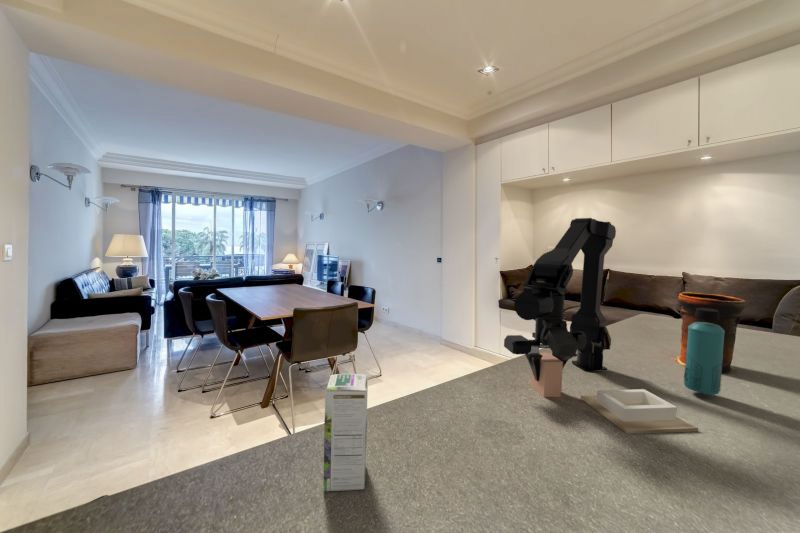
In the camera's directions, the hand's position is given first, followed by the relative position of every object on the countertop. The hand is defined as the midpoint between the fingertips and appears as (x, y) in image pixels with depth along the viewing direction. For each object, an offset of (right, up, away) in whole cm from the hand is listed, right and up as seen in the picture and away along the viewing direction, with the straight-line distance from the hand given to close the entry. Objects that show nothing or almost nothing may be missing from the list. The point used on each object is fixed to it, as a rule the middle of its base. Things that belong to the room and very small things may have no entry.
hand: (546, 380), depth 80 cm
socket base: (+14, -4, -9) cm, 17 cm away
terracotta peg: (0, -3, 0) cm, 3 cm away
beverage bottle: (+35, -3, 0) cm, 35 cm away
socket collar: (+14, -4, -9) cm, 17 cm away
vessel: (+53, -2, +19) cm, 57 cm away
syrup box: (-41, -5, -30) cm, 51 cm away
